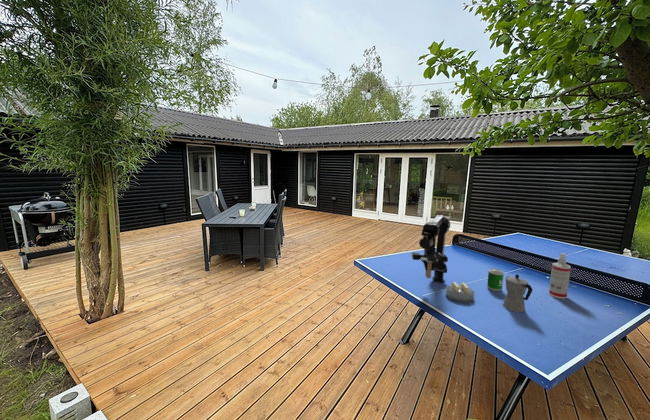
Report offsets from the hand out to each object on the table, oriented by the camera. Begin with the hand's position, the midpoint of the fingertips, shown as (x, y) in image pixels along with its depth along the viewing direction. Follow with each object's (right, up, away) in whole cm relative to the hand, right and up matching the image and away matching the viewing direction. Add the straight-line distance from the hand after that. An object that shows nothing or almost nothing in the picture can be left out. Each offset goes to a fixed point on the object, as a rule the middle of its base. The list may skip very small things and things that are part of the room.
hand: (428, 271), depth 148 cm
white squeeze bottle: (+74, -14, -1) cm, 75 cm away
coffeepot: (+38, -16, -17) cm, 44 cm away
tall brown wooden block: (0, -3, 0) cm, 3 cm away
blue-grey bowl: (+16, -13, -3) cm, 21 cm away
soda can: (+43, -13, +7) cm, 45 cm away
